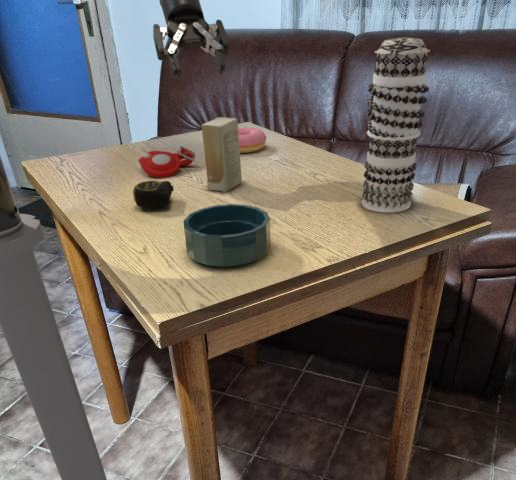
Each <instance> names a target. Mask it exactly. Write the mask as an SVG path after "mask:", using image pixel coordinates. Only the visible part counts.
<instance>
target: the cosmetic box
mask: <svg viewBox="0 0 516 480" xmlns="http://www.w3.org/2000/svg"><path fill="white" fill-rule="evenodd" d="M238 123H239V122H238V118H237V117H233V118H232V117H224V116H219V117H216V118H213V119H212V120H209V121H206V122H204V123H202V124H201V135H202V142H203V150H204V151H203V152H204V160H205V169H206V178H207V180H206V181H207V186H208V190H210V191H217V192H223V193H227V192H228V191H230V190H232V189H233V188H235V187H237V186H238V185H240V184H242V182H243V177H242V165H241V163H242V162H241V153H240V149H239V135H238V128H239V124H238Z"/></svg>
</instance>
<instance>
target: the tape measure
mask: <svg viewBox="0 0 516 480" xmlns="http://www.w3.org/2000/svg"><path fill="white" fill-rule="evenodd" d="M174 190H175V189H174V185H172V183H171V182H170V181H169V180H163V181H159V180H147V181H141V182H139V183H137V184H135V185H134V187H133V190H132V195H133V201H134V202H135V204H136V206H138V207H140V208H144V209H155V208H161V207H166V206H168V205H170V200H171V197H172V195H173V194H172V193H173V192H174Z"/></svg>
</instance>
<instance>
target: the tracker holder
mask: <svg viewBox="0 0 516 480" xmlns="http://www.w3.org/2000/svg"><path fill="white" fill-rule="evenodd" d="M196 156H197V155H196V152H194V151H192V150H190V149H189V148H186V147H184V146H182V145H179V146H178V150H177V151H176V152H170V151H162V150H150V151H148V152H147V153H145V154H144V155H142V156H141V157H139V158H138V161H137V162H139V164H140V167H141V169H142V170H143V172H145V174H147V175H148V176H150V177H154V178H167V177H170V176H171V177H172V176H173V175H175V174H176V173H177V172H178V171H179V170H180V168H182V167H187V166H190V165H191V164H193V162H196Z"/></svg>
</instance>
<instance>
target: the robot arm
mask: <svg viewBox="0 0 516 480" xmlns="http://www.w3.org/2000/svg"><path fill="white" fill-rule="evenodd" d="M159 5H160V7H161V11H162V13H163V16H164V20H165V24H166V27H161V26H160V25H159V24H158V23H155V24H153V25H152V28H153V29H152V37H153V42H154V47H155V52H156V56H157V59H158V60H159V61H164V60H166V61H167V62H168V64H169V68H170V71H171V74H172V75H173V76H175V78H176V79H181V77H182V70H181V65H180V61H179V58H178V55H179V53H180V51H181V50H182V49H183V50H184V51H189V50H200V49H202V50H203V51H204V52H205V53H207V54H209V53H210V55H212V56H213V57H214V58H213V60H214V62H215V67H216V70H217V73H218V75H223V74H224V71H226V70H225V69H226V64H227V62H226V59H225V56H227V55H228V54H229V49H230V45H231V42H230V39H229V37H228V34H227V32H226V31H227V30H226V29H225V26H224V23H223V21H222V20H221V19H216V20H215V23H208V22H207V21H206V19H205V17H204V12H203V8H202V5H201V2H200V0H159ZM166 37H168V39H170V40H171V43H170V45H169V47H168V48H165V45H164V41H165V39H166ZM215 38H216V40H215ZM224 55H225V56H224ZM5 169H6V168H5V166H4V163H3V160H2V156H0V238H1V237H4V236H8V235H10V234H13V233H15V232H16V231H18V230H19V229H21V228H22V226H23V223H22V220H21V218H20V215H19V214H20V211H19V206H18V203H17V202H16V200H15V197H14V194H13V191H12V188H11V184H10V181H9V177H8V175H7V173H6V170H5Z"/></svg>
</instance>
